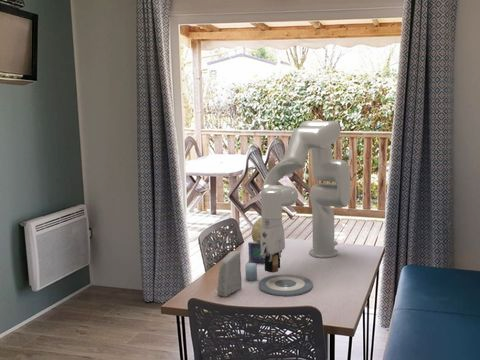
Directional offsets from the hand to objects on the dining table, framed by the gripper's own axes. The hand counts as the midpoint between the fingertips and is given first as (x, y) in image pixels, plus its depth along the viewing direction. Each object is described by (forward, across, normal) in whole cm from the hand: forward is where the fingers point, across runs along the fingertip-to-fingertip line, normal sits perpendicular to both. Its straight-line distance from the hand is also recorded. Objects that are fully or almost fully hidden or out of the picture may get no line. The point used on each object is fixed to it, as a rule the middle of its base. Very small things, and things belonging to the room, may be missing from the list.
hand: (272, 268), depth 198 cm
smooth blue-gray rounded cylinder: (+6, -1, +10) cm, 11 cm away
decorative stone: (+6, -16, +8) cm, 19 cm away
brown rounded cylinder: (+1, 0, 0) cm, 1 cm away
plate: (+6, 0, -6) cm, 8 cm away
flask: (+6, +17, +18) cm, 26 cm away
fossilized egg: (+6, +36, +28) cm, 46 cm away
